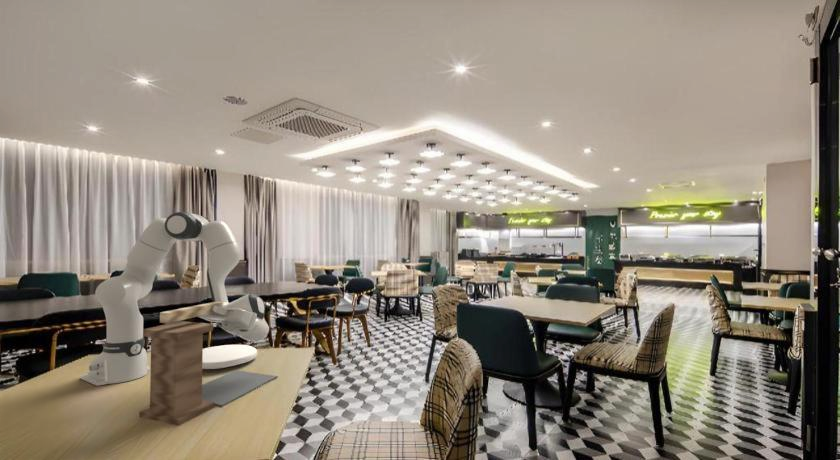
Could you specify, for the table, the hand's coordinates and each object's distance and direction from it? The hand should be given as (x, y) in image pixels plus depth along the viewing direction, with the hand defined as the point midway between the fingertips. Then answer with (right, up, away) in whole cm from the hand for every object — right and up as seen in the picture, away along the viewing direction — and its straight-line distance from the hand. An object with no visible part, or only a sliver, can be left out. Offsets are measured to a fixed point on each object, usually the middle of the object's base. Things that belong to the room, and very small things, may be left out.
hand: (207, 307), depth 125 cm
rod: (-2, -2, -5) cm, 6 cm away
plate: (-13, -31, +35) cm, 49 cm away
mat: (+3, -30, +9) cm, 32 cm away
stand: (-3, -30, -10) cm, 32 cm away
